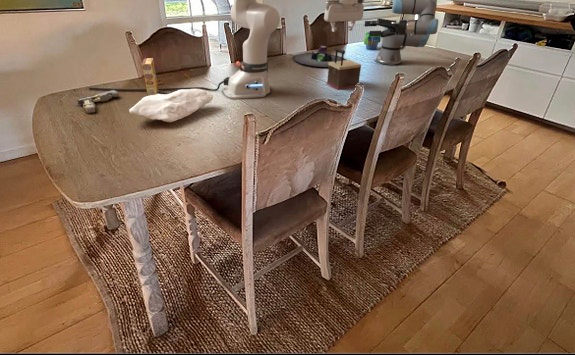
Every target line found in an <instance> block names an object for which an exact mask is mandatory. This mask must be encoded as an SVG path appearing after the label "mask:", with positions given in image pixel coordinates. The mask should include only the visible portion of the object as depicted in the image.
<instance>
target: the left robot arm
mask: <svg viewBox="0 0 575 355" xmlns="http://www.w3.org/2000/svg"><path fill="white" fill-rule="evenodd" d="M364 3H365V0H327V1H326V2H325V10H324V15H323V19H324V22H328V23H330V26H331V32H333V33H335V32H337V29H338V28H337V27H336V22H350V24H349V25H348V26H347V31H348V32H349V31H353V28H354V26H355V24H356V21H361V20H362V19H363V17H364V11H365V6H364ZM230 18H231V20H232V22H233V23H234V24H235V25H237V26H238V27H241V28H243V29H249V35H248V38H247V39H246V40H244V41H243V43H242V59H243V60H242V61H236V62H235V65H236V66H237V67H239V69H237V71H236V72H235V73H234V74H232V75H231V76H227V77H225V78H224V79H223V80H222V81H220V82H219V83H218V84H217V87H216V88H214V89H212V88H207V87H204V86H193V87H192V86H190V87H188V86H187V87H166V88H162V87H161V88H158V90H159V91H177V90H181V89H202V90H204V91H212V92H216V91H218V90H219V89H220V86H221V85H222V84H223V86H226V87H224V88H223V91H222V92H223V94H224V95H225V96H226V97H228V98H230V99H233V100H236V99H237V100H238V99H239V100H240V99H253V98H254V99H255V98H264V97H266V95H268V94H269V93H270V92H271V88H270V84H269V78H268V76H269V75H268V72H269V61H268V47H269V46H268V45H269V40H270V38H271V35H272V34H273V32H275V31H276V30H277V29H278V27H279V25H280V20H281V19H280V13H279V11H278V10H277V9H276V8H275V7H273V6H271V5H269V4H266V3H260V2H258V1H257V0H233V4H232V5H231V8H230ZM88 89H89V90H96V91H112V90H115V91H117V92H119V91H120V92H147V88H111V87H109V88H108V87H107V88H106V87H92V86H91V87H90V86H89V87H88Z"/></svg>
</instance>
